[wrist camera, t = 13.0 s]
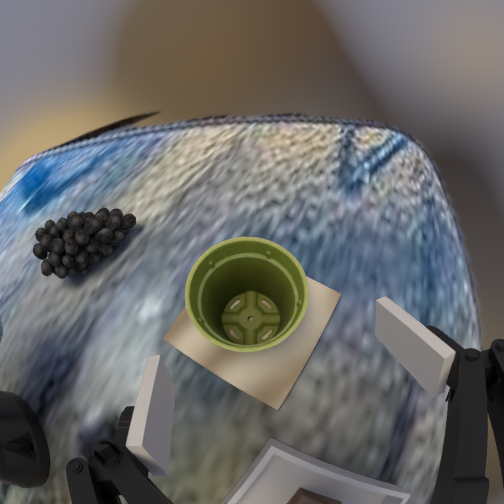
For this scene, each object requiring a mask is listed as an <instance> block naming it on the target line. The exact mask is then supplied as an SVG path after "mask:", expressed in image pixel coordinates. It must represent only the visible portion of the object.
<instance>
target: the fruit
mask: <svg viewBox="0 0 504 504" xmlns="http://www.w3.org/2000/svg"><path fill="white" fill-rule="evenodd" d="M135 224H136V217H135V216H134V215H133V214H126V215H124V216H123V213H122V211H121V210H120V209H113V210H112V211H111V212H109V210H108V209H107V208H101V209H99V211H98V212H97V213H96V214H95V215H94V214H93V213H92V212H87V213H83V212H81V213H79V214H78V213H77V212H71V213H69V214H68V216H67V219H65V218H61V219H59V220H58V223H57V224H56V225H55V222H53V221H52V220H49V221H47V222H46V224H45V228H46V229H45V228H38V230H37V231H36V233H35V235H36V239H37V240H38V241H39V242H40V243H37V244H35V245H34V248H33V254H34V255H35V256H36V257H38V258H39V259H41V260H44V259H46V258H47V256H48V259H46V260H44V261H43V262H42V264H41V269H42V274H43V275H45V276H49V275H51V274H52V272H53V273H54V274H55V275H56V276H58V278H61V279H63V278H65V277H66V276H67V275H69V276H71V275H74V274H75V273H77V274H78V275H81V276H83V275H85V274H86V273H87V271H88V267H87V263H93V262H96V261H98V260H99V258H100V253H102V254H103V255H105V256H108V255H110V254H111V253H112V251H113V246H117V245H119V244H120V243H121V242H122V241H123V240H124V236H125V235H127V233H128V230H129V228H132V227H133V226H134V225H135ZM47 252H50V253H49V254H48V253H47Z"/></svg>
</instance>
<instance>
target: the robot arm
mask: <svg viewBox="0 0 504 504" xmlns="http://www.w3.org/2000/svg"><path fill="white" fill-rule="evenodd" d="M2 334H3V327H2V322H1V319H0V341H1V338H2ZM375 337H376V338H377V339H378V340H379V341H380V342H381V343H382V344H383V345H384V346H385V347H386V348H387V349H388V350H389V351H390V352H391V354H392V355H393V356H394V357H395V358H396V359H397V360H398V361H399V362H400V363H401V364H402V365H403V366H404V367H405V369H406V370H407V371H408V372H409V373H410V374H411V375H412V376H413V377H414V378H415V379H416V380H417V382H418V383H419V384H420V385H421V386H422V387H423V388H424V389H425V390H426V391H427V392H428V394H429V395H430V396H431V397H432V398H435V397H436V396H438V395H439V394H441V393H443V392H444V389H445V386H446V384H447V385H448V386H449V387H450V389H449V392H448V395H447V398H446V401H445V402H447V400H448V411H447V422H446V430H445V438H444V445H443V451H442V457H441V462H440V467H439V472H438V477H437V481H436V485H435V489H434V493H433V497H432V500H431V503H430V504H486V502H487V496H488V490H489V480H488V479H487V478H485V468H486V456H487V436H488V414H489V418H490V421H491V425H492V429H493V432H494V437H495V441H496V445H497V450H498V455H499V460H500V466H501V472H502V478H503V487H504V340H503V339H496V340H494V341H493V342H492V344H491V347H490V349H488V350H485V351H482V352H480V351H479V350H476V349H473V348H469V349H464V348H463V347H461V346H460V345H459V344H457V343H456V342H455V341H454V340H452V339H451V338H450V337H448V336H447V335H446V334H444V333H443V332H442V331H441V330H440V329H438V328H436V327H433V326H430V325H429V326H427V327H424V326H423V325H422V324H421V323H419V322H418V321H417V320H416V319H414V318H413V317H412V316H411V315H409V314H408V313H407V312H405V311H404V310H403V309H401V308H400V307H399V306H398V305H396V304H395V303H394V302H392V301H391V300H390V299H388V298H387V297H383V298H381V299H378V300H376V323H375ZM175 395H176V387H175V385H174V383H173V381H172V378H171V376H170V374H169V372H168V370H167V368H166V366H165V364H164V361H163V359H162V357H161V355H155V356H148V360H147V363H146V367H145V370H144V374H143V377H142V381H141V385H140V389H139V392H138V396H137V400H136V404H135V406H129V407H126V408H125V409H124V411H123V412H122V413H121V416H120V420H119V423H118V429H117V431H116V434H115V438H114V441H113V440H111V439H101V440H99V441H97V442H96V443H95V444H94V445H93V447H92V450H91V453H92V456H93V457H94V458H95V459H96V460H97V461H95V462H90V463H87V462H86V461H85V460H84V459H82V458H74V459H72V460H70V461H69V462H68V464H67V466H66V474H67V480H68V486H69V491H70V496H71V500H72V504H122V503H121V500H120V498H119V495H122V496H123V497H124V498H125V500H126V501H127V502H128V504H173V503H172V502H171V501H170V500H169V499H168V498H167V497H166V496H165V495H164V494H163V493H162V492H161V491H160V490H159V489H158V488H157V486H156V485H155V484H154V483H153V482H152V481H151V480H150V479H149V478H148V472H150V473H151V474H152V475H153V476H169V462H170V448H171V435H172V424H173V414H174V404H175ZM487 411H488V414H487ZM48 473H49V454H48V448H47V444H46V441H45V437H44V434H43V432H42V429H41V427H40V425H39V423H38V421H37V419H36V417H35V415H34V413H33V412H32V410H31V409H30V407H29V406H28V405H27V404H26V403H25V402H24V401H23V400H22V399H21V398H20V397H19V396H17V395H16V394H14V393H10V392H5V391H0V481H1V482H4V483H8V484H12V485H16V486H19V487H23V488H30V487H36V486H40V485H42V484H43V483H44V482H45V481H46V479H47V477H48Z"/></svg>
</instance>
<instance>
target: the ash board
mask: <svg viewBox="0 0 504 504" xmlns="http://www.w3.org/2000/svg"><path fill="white" fill-rule="evenodd" d="M306 278H307V282H308V287H309V299H308V306H307V310H306V312H305V315H304V317H303V319H302V321H301V323H300V324H299V326H298V327H297V328H296V330H295V331H294V332H293V333H292V334H291V335H290V336H289V337H288V338H286V339H285V340H284V341H282V342H281V343H279V344H277V345H276V346H274V347H271V348H269V349H266V350H262V351H258V352H235V351H230V350H227V349H224V348H221V347H219V346H217V345H215V344H213V343H212V342H210V341H209V340H207V339H206V338H205V337H204V336H203V335H202V334H201V333H200V332H199V331H198V330H197V329H196V328H195V326H194V324H193V323H192V321H191V319H190V317H189V315H188V312H187V309H186V306H185V307H184V309H183V310H182V311H181V313H180V314H179V316H178V317H177V319H176V320H175V322H174V323H173V324H172V326H171V327H170V329H169V330H168V332H167V333H166V335H165V336H164V338H163V339H164V340H166V341H167V342H169V343H170V344H171V345H173V346H174V347H176V348H177V349H178V350H180V351H181V352H183V353H184V354H186V355H187V356H188V357H190V358H191V359H193V360H194V361H196V362H197V363H199V364H200V365H202V366H203V367H205V368H206V369H208V370H210V371H211V372H213V373H214V374H216V375H217V376H219V377H221V378H222V379H224V380H225V381H227V382H229V383H230V384H232V385H234V386H235V387H237V388H239V389H240V390H242V391H244V392H246V393H247V394H249V395H251V396H253V397H254V398H256V399H258V400H260V401H262V402H263V403H265V404H267V405H269V406H271V407H273V408H275V409H277V410H278V409H279V407H280V406H281V404H282V403H283V401H284V399H285V398H286V396H287V395H288V393H289V391H290V390H291V388H292V386H293V385H294V383H295V381H296V379H297V378H298V376H299V374H300V373H301V371H302V369H303V367H304V366H305V364H306V362H307V360H308V358H309V357H310V355H311V353H312V351H313V349H314V347H315V346H316V344H317V342H318V340H319V338H320V336H321V334H322V332H323V330H324V328H325V326H326V325H327V323H328V321H329V319H330V317H331V315H332V313H333V311H334V308H335V306H336V304H337V302H338V300H339V298H340V296H341V294H340V293H338V292H336V291H334V290H332V289H330V288H328V287H326V286H324V285H322V284H320V283H318V282H316V281H314V280H312V279H310V278H309V277H307V276H306ZM239 302H240V300H237V301H235V302H234V303H233V304H232V305H231V306H230V309H232V308H233V307H234V306H235V305H236V304H238V303H239ZM261 302H262V303H264V304H265V305H266V306H267V307H268V308H269V309H271V306H270V304H269V303H268V302H267V301H265V300H261ZM248 320H249V321H252V320H253V317H252V316H250V317H248ZM229 331H230V334H231V335H232V336H233V337H235V338H236V339H240V338H239V337H238V336H237V335H236V334H235V333H234V332H233V330H231V329H230V330H229ZM271 332H272V331H271V330H269V331H268V332H267V333H266V334H265V335H264V336H263V337H261V339H265V338H267V337H268V335H269V334H270V333H271Z"/></svg>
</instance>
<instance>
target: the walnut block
mask: <svg viewBox="0 0 504 504" xmlns="http://www.w3.org/2000/svg"><path fill="white" fill-rule="evenodd" d="M287 504H342V503H341V501H338V500H335V499H332V498H329V497H326V496H323V495H320V494H317V493H314V492H312V491H309V490H306V489H304V488H301V487H299V489H298V490H297V491H296V493H295V494H294V495H293V496H292V498H291V499H290V500H289V501H288V503H287Z"/></svg>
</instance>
